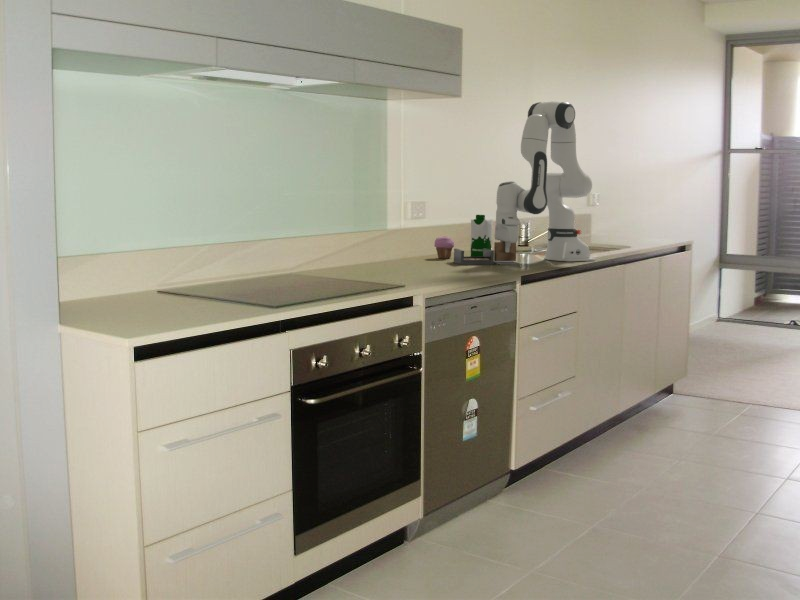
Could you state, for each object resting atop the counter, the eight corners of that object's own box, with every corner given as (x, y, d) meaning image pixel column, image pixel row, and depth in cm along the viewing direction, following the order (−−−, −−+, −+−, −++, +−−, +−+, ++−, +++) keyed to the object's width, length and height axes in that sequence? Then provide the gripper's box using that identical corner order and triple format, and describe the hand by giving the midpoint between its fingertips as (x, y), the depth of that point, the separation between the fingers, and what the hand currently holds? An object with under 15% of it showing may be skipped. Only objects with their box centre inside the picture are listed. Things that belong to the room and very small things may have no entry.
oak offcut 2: (486, 264, 378) (486, 258, 377) (488, 265, 375) (488, 259, 374) (475, 264, 377) (475, 258, 376) (477, 265, 374) (477, 259, 373)
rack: (485, 262, 385) (485, 248, 384) (493, 264, 374) (494, 250, 373) (453, 262, 382) (454, 248, 381) (461, 265, 371) (461, 250, 370)
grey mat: (512, 262, 386) (512, 260, 386) (519, 264, 377) (519, 262, 377) (490, 262, 384) (490, 260, 384) (497, 264, 375) (497, 263, 375)
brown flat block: (513, 260, 382) (514, 241, 381) (515, 260, 380) (516, 242, 379) (494, 260, 381) (494, 242, 379) (496, 261, 378) (496, 242, 377)
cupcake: (447, 259, 392) (447, 237, 391) (430, 258, 397) (430, 236, 395) (457, 258, 399) (457, 236, 398) (440, 257, 404) (441, 235, 403)
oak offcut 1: (473, 264, 376) (473, 258, 376) (474, 265, 373) (474, 259, 373) (462, 264, 376) (462, 258, 376) (463, 265, 373) (463, 259, 373)
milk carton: (468, 259, 395) (469, 214, 392) (475, 257, 403) (476, 214, 400) (486, 260, 391) (487, 215, 388) (493, 259, 399) (495, 214, 396)
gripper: (491, 218, 387) (490, 249, 389) (507, 221, 367) (506, 254, 369) (505, 218, 388) (504, 249, 390) (521, 221, 369) (520, 254, 371)
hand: (505, 251), depth 380 cm, fingers closed on brown flat block, 2 cm apart
